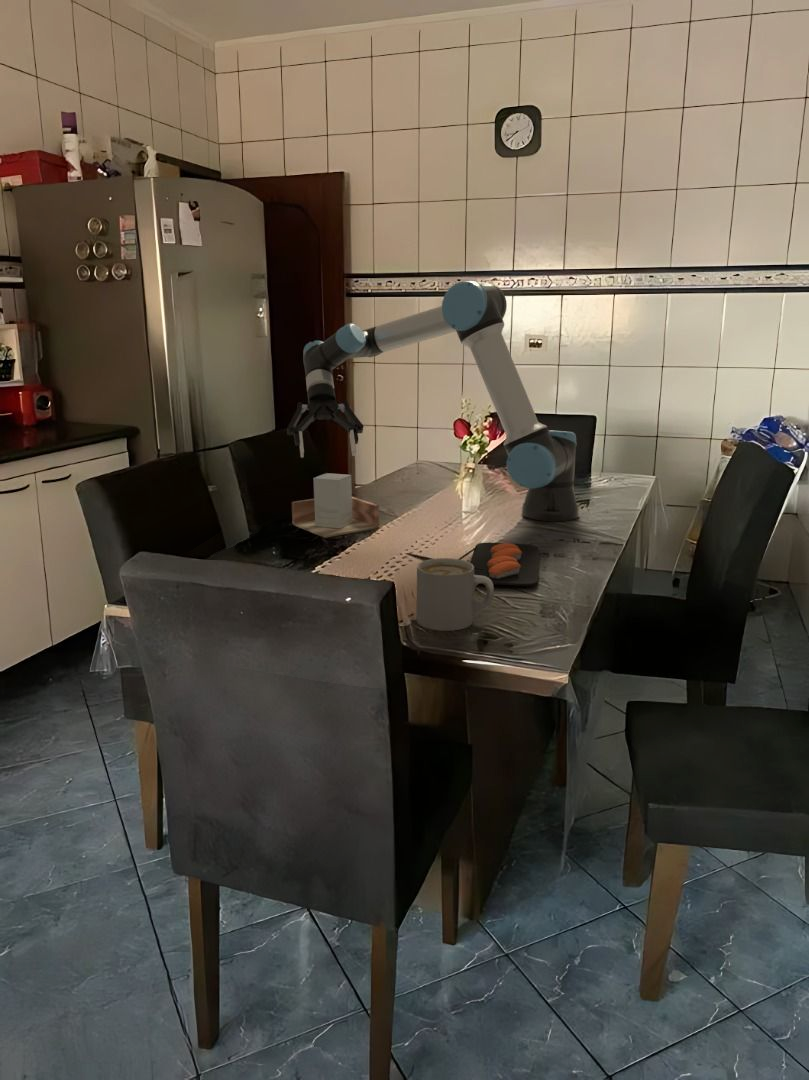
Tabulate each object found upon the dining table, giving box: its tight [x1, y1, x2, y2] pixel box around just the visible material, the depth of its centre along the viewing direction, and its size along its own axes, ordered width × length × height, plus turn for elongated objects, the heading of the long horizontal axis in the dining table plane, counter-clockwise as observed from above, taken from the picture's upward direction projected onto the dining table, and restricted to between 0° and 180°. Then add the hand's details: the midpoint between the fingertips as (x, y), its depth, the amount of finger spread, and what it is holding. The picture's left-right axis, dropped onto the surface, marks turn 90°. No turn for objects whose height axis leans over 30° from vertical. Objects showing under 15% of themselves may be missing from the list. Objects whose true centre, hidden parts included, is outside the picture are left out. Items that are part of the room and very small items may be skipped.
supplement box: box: [312, 472, 353, 529], centre depth 203 cm, size 7×7×13 cm
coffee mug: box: [416, 557, 495, 632], centre depth 140 cm, size 13×10×10 cm
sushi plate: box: [405, 542, 540, 587], centre depth 173 cm, size 29×30×4 cm
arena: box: [291, 496, 380, 539], centre depth 205 cm, size 16×16×6 cm
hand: (328, 453), depth 210 cm, fingers open, 13 cm apart
